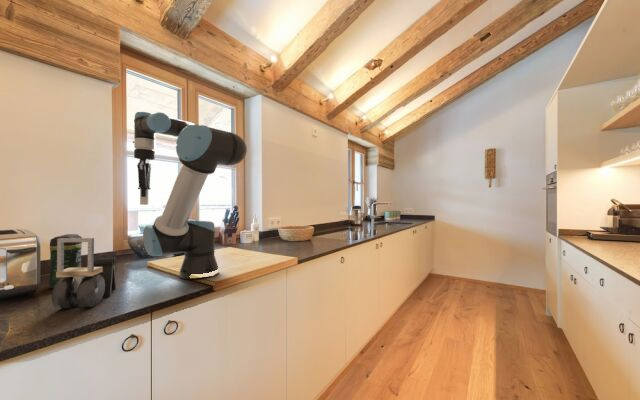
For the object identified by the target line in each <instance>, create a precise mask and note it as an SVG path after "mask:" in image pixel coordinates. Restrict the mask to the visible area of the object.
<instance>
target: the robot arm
mask: <svg viewBox="0 0 640 400" xmlns="http://www.w3.org/2000/svg"><path fill="white" fill-rule="evenodd" d="M133 122H134V126H133V127H134V134H133V135H134V141H133V140H132V144H133V145H134V146H133V147H134V148H135V149H134V150H133V156H134V159H137V160H139V162H137V165H136V166H137V176H138V187H137V189H138V190H140V191H139V193H140V194H139V196H140V197H139V205H141V206H143V205H144V206H145V205H146V206H148V205H149V190H151V187H150V185H151V173H152V172H151V171H152V164H151V163H150V161H153V160H155V158H156V151H155V150H156V134H158V135H165V136H168V137H169V136H171V137H177V139H176V146H175V151H176V155H177V156H178V161H179V163H180V164H181V167H180V169H179V171H178V174H177V177H176V179H175V182H174V185H173V186H172V188H171V189H172V190H171V191H170V195H169V196H168V200H167V201H166V204H165V207H164V210H163V211H162V214H161V215H159V216H157V217H156V218H155V219H154V222H153V224H148V225H145V227H144V228H143V231H142V239H143V240H142V241H143V244H144V245H143V246H144V248H145V251H146V253H147V254H148V255H149V256H151V257H164V256H169V255H174V254H175V255H176V254H181V253H184V257H183V261H182V263H181V267H180V269H179V277H180V278H181V279H183V280H191V279H190V277H189V276H190V275H191V274H203V273H209V272H212V271H215V270H217V269H218V268H219V265H218V262H217V260H216V256H215V241H216V240H215V239H216V238H215V237H216V236H215V234H216V230H215V228H216V227H215V223H214V222H213V221H211V220H210V221H209V220H201V219H200V220H198V219H197V220H196V219H189V218H190V216H191V215H192V212H193V209H194V207H195V205H196V203H197V200H198V198H199V196H200V193H201V192H202V189H203V187H204V184H205V182H206V180H207V178H208V175H212V174H214V173H215V172H216V169H217V168H218V165H219V166H220V165H221V166H235V165H238V164H240V163H242V161H244V159H245V157H246V156H247V152H248V151H247V149H248V147H247V143H246V141H244V138H242V137H241V136H240V135H238V134H236V133H234V132H230V131H226V130H222V129H217V128H214V127H210V126H208V125H203V124H201V125H200V124H198V123H195V122H191V121H187V120H183V119H182V120H181V119H178V118H174V117H170V116H168V115H167V114H166V113H164V112H160V111H159V112H152V113H150V112H146V111H137V112H135V114H134V119H133Z"/></svg>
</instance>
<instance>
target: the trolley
mask: <svg viewBox="0 0 640 400" xmlns="http://www.w3.org/2000/svg"><path fill="white" fill-rule="evenodd" d="M64 242H82V243H87V267H88V271H93V270H94V258H95V238H94V237H82V238H60V239H57V272H62V271H64ZM104 291H105V281H104V278H103V277H102V276H101V275H94V276H82V277H62V278H61V279H59V280H58V282H57V283H56V284H55V286H54V288H52V293H51V304H52V305H53V306H54V308H56V309H59V310H60V309H61V310H62V309H71V308H73V307H76V306H77V304H78V306H79V307H81V308H91V307H92V308H93V307H97V306H98V305H99V303H101V301H102V299H103V298H104V297H103V295H104ZM102 297H103V298H102Z"/></svg>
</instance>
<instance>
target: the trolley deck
mask: <svg viewBox="0 0 640 400" xmlns="http://www.w3.org/2000/svg"><path fill="white" fill-rule="evenodd" d="M101 272H103V267H94V270H93V271H88V266H86V267H83V266H81V267H78V268H67V269H64V271H62V272H56V277H82V276H94V275H96V274H98V273H101Z"/></svg>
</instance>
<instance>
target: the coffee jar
mask: <svg viewBox="0 0 640 400" xmlns="http://www.w3.org/2000/svg"><path fill="white" fill-rule="evenodd" d="M60 238H83V237H82V236H81V235H79V234H74V233H70V234H67V233H66V234H63V235H58V236H55V237H54V238H51V239H50V240H49V256H50V257H49V273H48V274H49V276H48V288H49V289H54V286H55V284H56V283H57V282H58V280H59V279H61V278H62V277H56V272H57V239H60ZM82 246H83V242H64V269H67V268H78V267H82Z"/></svg>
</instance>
